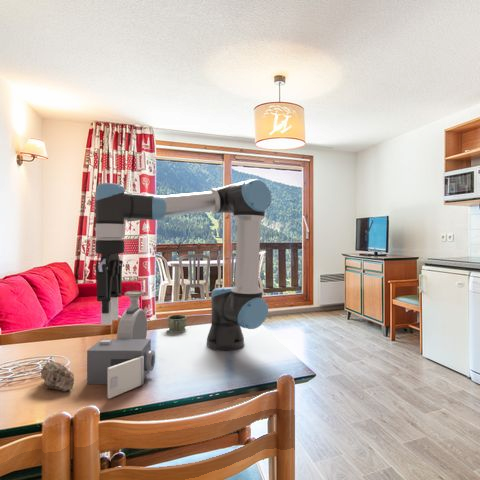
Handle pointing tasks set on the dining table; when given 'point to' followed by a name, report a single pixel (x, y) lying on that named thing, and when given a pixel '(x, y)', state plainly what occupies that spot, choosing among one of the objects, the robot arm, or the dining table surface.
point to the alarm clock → (132, 324)
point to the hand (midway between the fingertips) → (109, 322)
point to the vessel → (177, 323)
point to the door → (125, 376)
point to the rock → (57, 376)
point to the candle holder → (134, 297)
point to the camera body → (116, 357)
